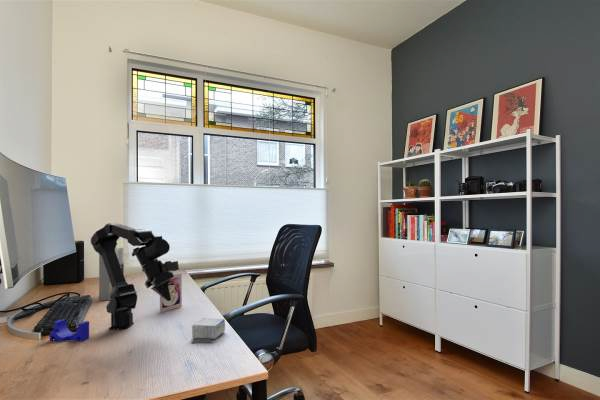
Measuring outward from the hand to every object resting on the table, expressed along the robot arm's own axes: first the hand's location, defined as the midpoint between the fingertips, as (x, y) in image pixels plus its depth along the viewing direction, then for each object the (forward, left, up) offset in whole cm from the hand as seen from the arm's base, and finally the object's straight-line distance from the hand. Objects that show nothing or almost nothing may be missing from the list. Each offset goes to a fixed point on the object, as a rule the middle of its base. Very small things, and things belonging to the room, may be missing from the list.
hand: (169, 300), depth 121 cm
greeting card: (-13, +31, -12) cm, 35 cm away
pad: (+14, -4, -11) cm, 19 cm away
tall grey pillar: (-51, +55, -12) cm, 76 cm away
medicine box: (+11, -4, -9) cm, 14 cm away
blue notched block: (-33, -5, -12) cm, 35 cm away
